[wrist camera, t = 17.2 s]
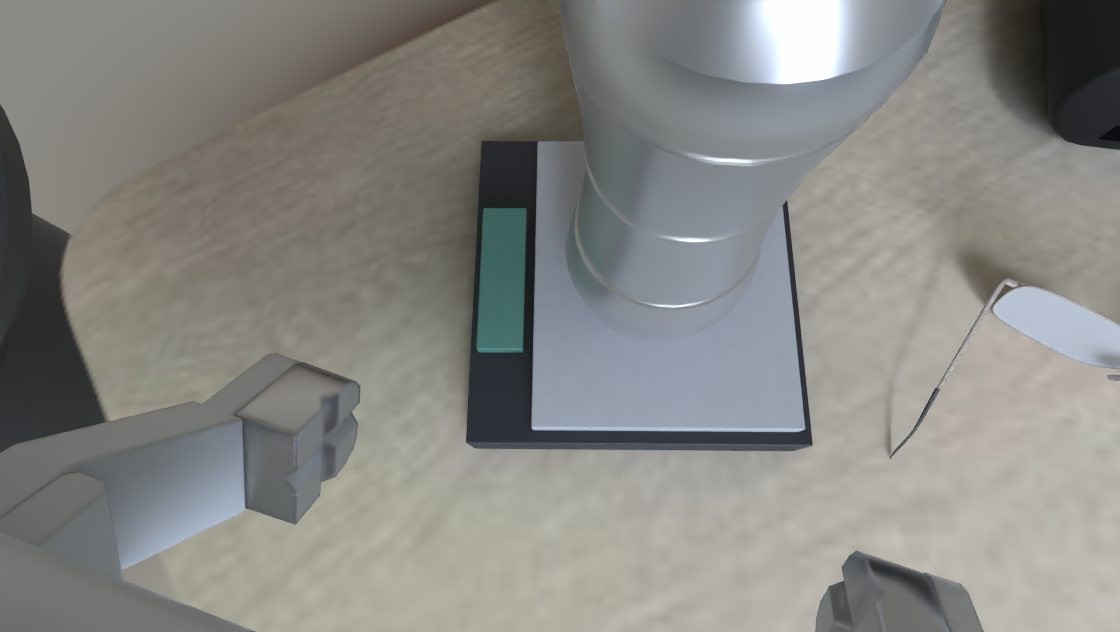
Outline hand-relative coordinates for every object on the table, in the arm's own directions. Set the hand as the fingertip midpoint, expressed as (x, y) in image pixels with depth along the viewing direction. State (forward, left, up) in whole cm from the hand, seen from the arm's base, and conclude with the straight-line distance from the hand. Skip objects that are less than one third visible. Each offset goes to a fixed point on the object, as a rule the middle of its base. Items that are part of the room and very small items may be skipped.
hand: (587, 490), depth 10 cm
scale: (+2, +9, -16) cm, 18 cm away
